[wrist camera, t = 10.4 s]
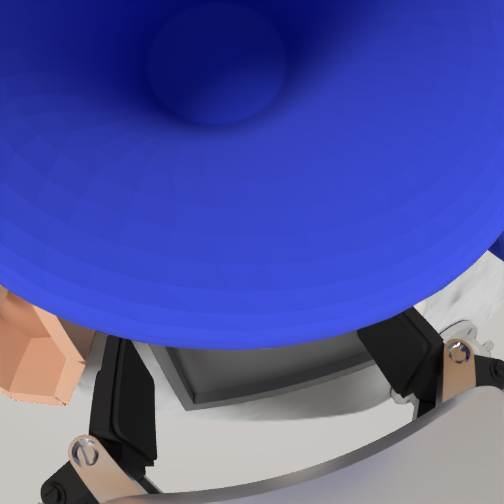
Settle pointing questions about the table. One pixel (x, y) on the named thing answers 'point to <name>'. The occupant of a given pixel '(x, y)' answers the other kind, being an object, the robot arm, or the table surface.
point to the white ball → (3, 294)
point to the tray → (257, 370)
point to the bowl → (40, 353)
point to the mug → (247, 162)
